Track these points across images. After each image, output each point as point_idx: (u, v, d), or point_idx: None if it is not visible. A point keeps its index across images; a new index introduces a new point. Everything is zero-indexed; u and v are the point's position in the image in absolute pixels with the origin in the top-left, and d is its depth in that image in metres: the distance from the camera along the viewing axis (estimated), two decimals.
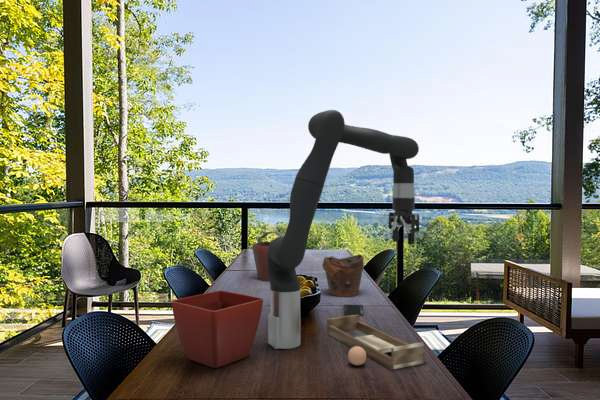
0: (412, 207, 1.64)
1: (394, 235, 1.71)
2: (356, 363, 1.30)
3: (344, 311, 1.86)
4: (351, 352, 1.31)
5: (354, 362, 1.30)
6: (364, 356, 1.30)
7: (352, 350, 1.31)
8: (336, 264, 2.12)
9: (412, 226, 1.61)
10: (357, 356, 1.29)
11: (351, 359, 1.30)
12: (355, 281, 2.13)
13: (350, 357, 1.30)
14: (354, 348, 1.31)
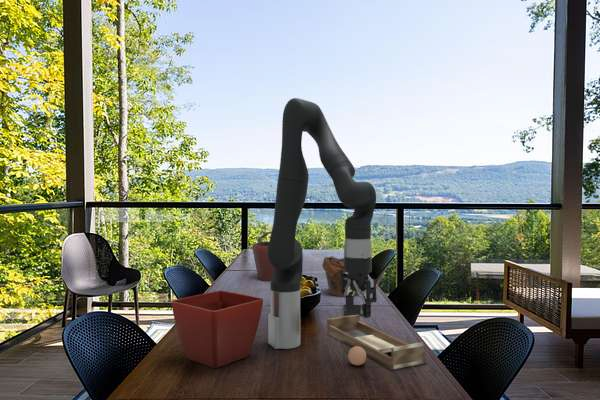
0: (368, 269, 1.29)
1: (347, 302, 1.35)
2: (356, 363, 1.30)
3: (344, 311, 1.86)
4: (351, 352, 1.31)
5: (354, 362, 1.30)
6: (364, 356, 1.30)
7: (352, 350, 1.31)
8: (336, 264, 2.12)
9: (367, 296, 1.25)
10: (357, 356, 1.29)
11: (351, 359, 1.30)
12: None
13: (350, 357, 1.30)
14: (354, 348, 1.31)
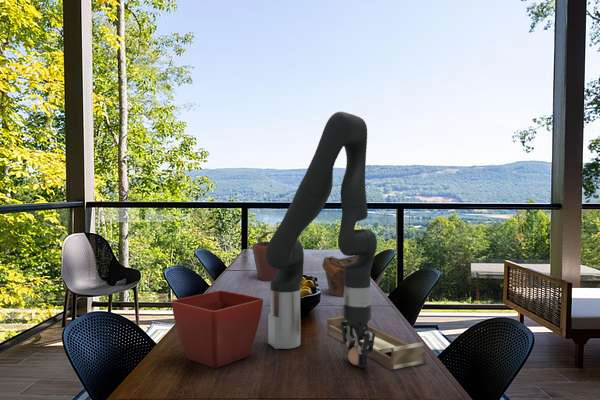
0: (367, 318, 1.29)
1: None
2: (356, 363, 1.30)
3: None
4: (351, 352, 1.31)
5: (354, 362, 1.30)
6: None
7: (352, 350, 1.31)
8: (336, 264, 2.12)
9: (364, 347, 1.26)
10: (357, 356, 1.29)
11: (351, 359, 1.30)
12: None
13: (350, 357, 1.30)
14: (354, 348, 1.31)
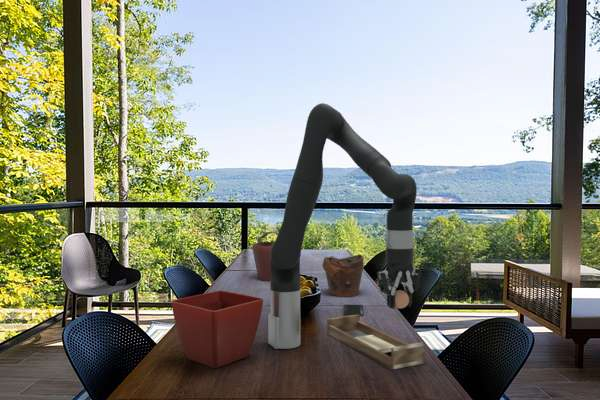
0: (391, 260, 1.31)
1: None
2: None
3: (344, 311, 1.86)
4: None
5: None
6: (395, 299, 1.32)
7: None
8: (336, 264, 2.12)
9: None
10: None
11: None
12: (355, 281, 2.13)
13: None
14: (397, 290, 1.34)
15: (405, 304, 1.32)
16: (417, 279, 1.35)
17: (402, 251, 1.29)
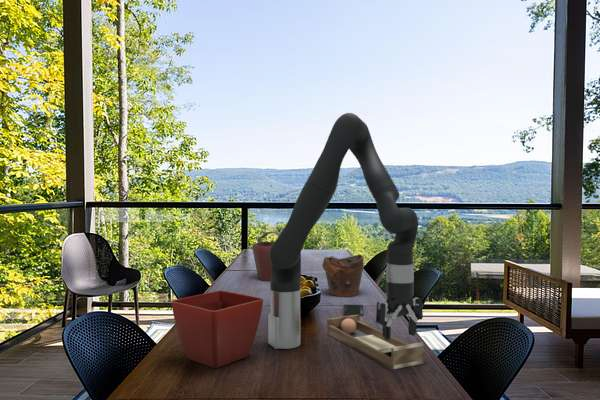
0: (391, 294, 1.31)
1: (409, 326, 1.36)
2: None
3: (344, 311, 1.86)
4: None
5: None
6: (344, 328, 1.57)
7: (348, 318, 1.59)
8: (336, 264, 2.12)
9: None
10: (342, 322, 1.59)
11: None
12: (355, 281, 2.13)
13: None
14: (349, 319, 1.58)
15: (350, 333, 1.58)
16: (419, 309, 1.35)
17: (402, 285, 1.30)
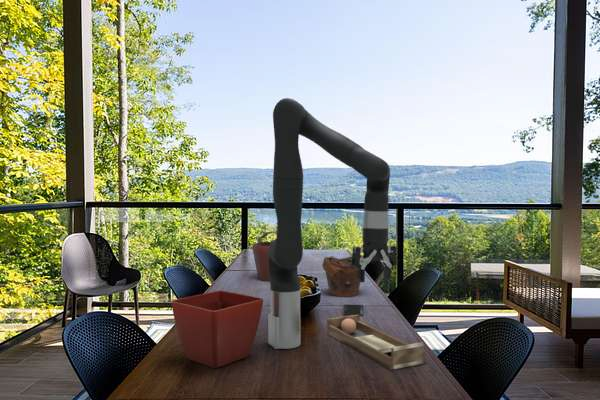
0: (366, 239, 1.39)
1: (384, 272, 1.44)
2: None
3: (344, 311, 1.86)
4: None
5: None
6: (344, 328, 1.57)
7: (347, 318, 1.59)
8: (336, 264, 2.11)
9: None
10: (342, 322, 1.59)
11: None
12: (355, 281, 2.13)
13: None
14: (349, 319, 1.58)
15: (350, 333, 1.58)
16: (394, 256, 1.43)
17: (377, 230, 1.38)
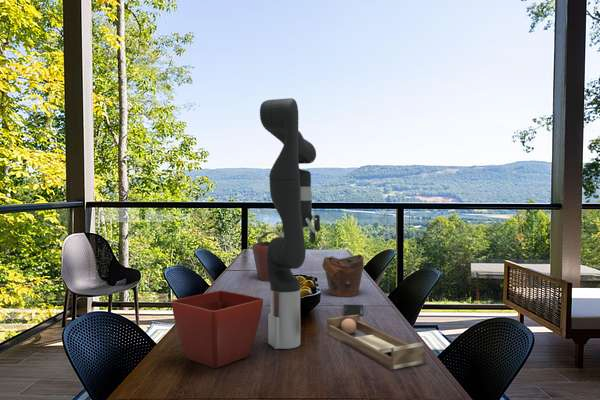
0: None
1: (310, 236, 1.77)
2: None
3: (344, 311, 1.86)
4: None
5: None
6: (344, 328, 1.57)
7: (348, 319, 1.59)
8: (336, 264, 2.11)
9: None
10: (342, 322, 1.58)
11: None
12: (355, 281, 2.13)
13: None
14: (349, 320, 1.58)
15: (350, 333, 1.58)
16: (317, 223, 1.76)
17: (301, 202, 1.71)
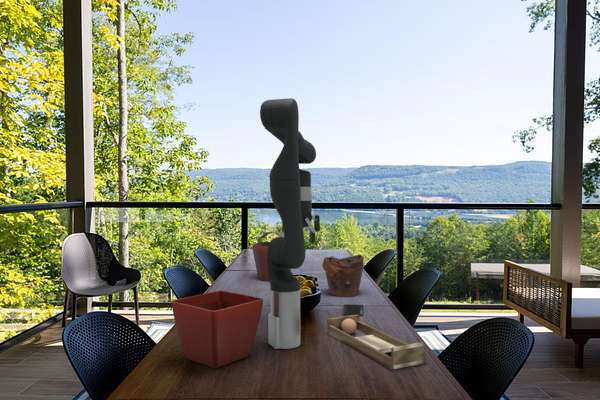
0: None
1: (310, 236, 1.77)
2: None
3: (344, 311, 1.86)
4: None
5: None
6: (344, 329, 1.57)
7: (348, 319, 1.58)
8: (336, 264, 2.12)
9: None
10: (342, 322, 1.58)
11: None
12: (355, 281, 2.13)
13: None
14: (349, 320, 1.58)
15: (350, 333, 1.58)
16: (317, 223, 1.76)
17: (301, 202, 1.71)
